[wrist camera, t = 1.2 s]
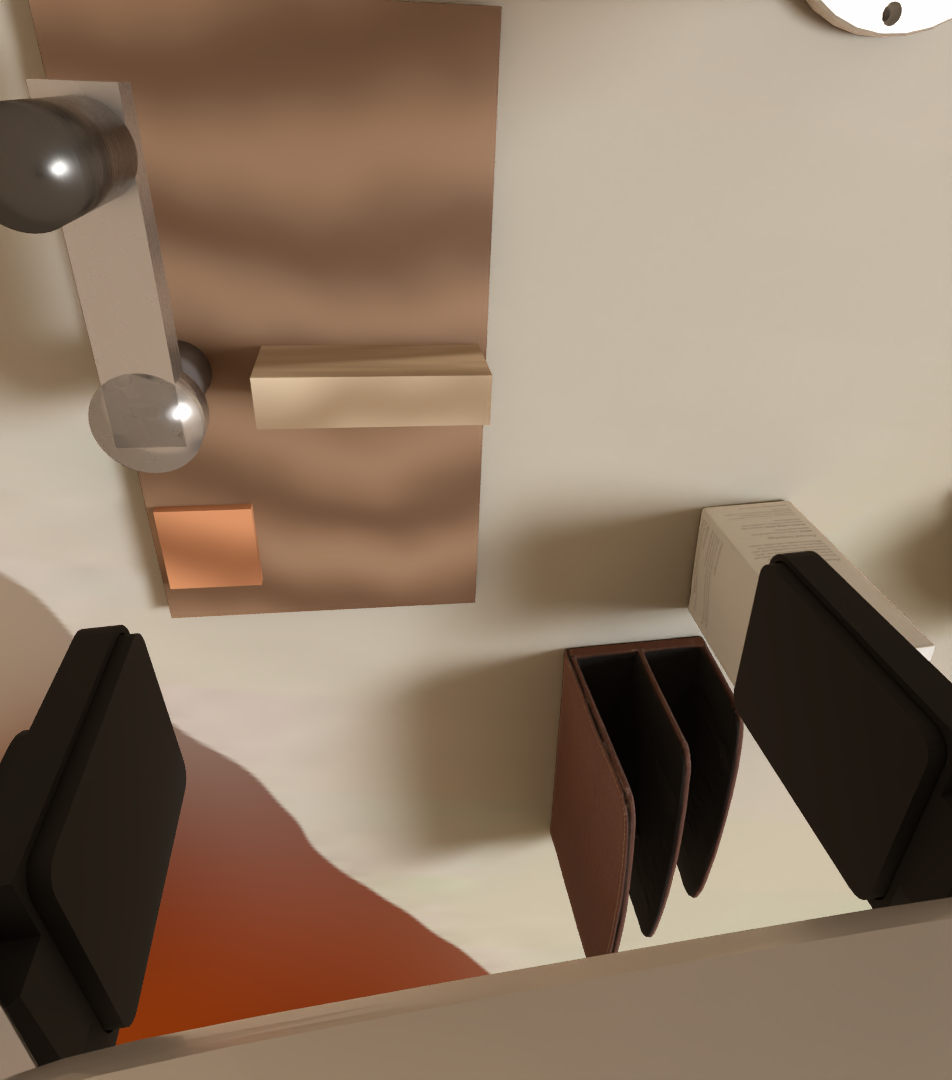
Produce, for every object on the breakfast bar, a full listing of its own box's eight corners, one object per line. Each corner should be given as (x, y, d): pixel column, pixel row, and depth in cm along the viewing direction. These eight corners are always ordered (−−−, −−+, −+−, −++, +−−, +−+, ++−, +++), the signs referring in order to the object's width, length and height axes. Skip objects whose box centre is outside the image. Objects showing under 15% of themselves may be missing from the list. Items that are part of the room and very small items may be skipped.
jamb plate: (35, -17, 28) (-30, -35, 24) (496, 8, 31) (521, -3, 26) (176, 605, 44) (153, 670, 40) (472, 590, 47) (485, 650, 42)
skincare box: (765, 599, 50) (898, 772, 38) (680, 608, 50) (787, 787, 37) (789, 491, 46) (949, 648, 33) (696, 500, 45) (823, 663, 33)
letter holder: (548, 828, 61) (593, 1010, 49) (562, 645, 50) (624, 820, 39) (664, 815, 62) (735, 989, 50) (702, 632, 52) (804, 799, 40)
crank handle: (216, 455, 33) (182, 546, 27) (113, 457, 32) (53, 552, 26) (154, 82, 25) (86, 86, 19) (18, 77, 25) (-99, 79, 19)
